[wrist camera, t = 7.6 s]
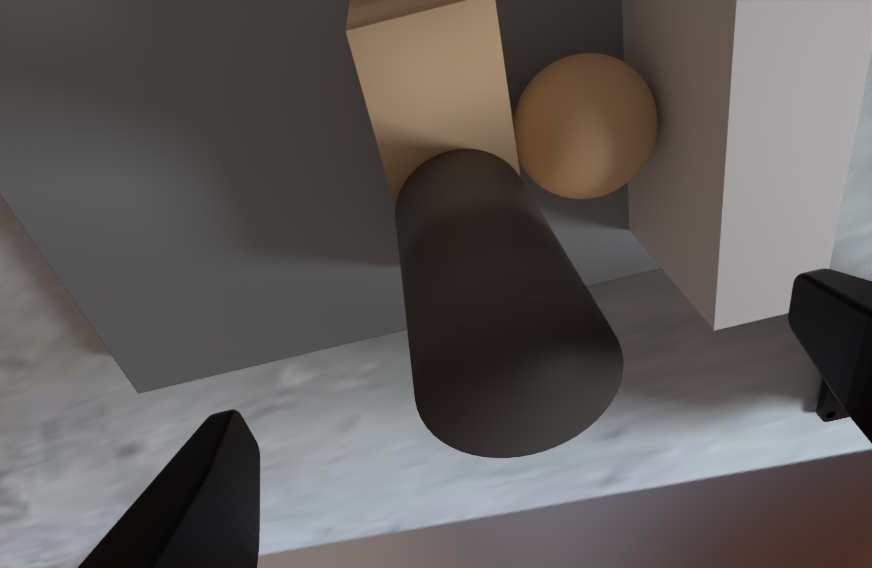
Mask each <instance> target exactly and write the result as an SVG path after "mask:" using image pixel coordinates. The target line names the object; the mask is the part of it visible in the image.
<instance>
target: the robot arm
mask: <svg viewBox="0 0 872 568" xmlns="http://www.w3.org/2000/svg"><path fill="white" fill-rule="evenodd" d="M788 320H789V324H790V327H791V329H792V331H793V333H794V334H795V336H796V337H797V339H798V340H799V342H800V343H801V345H802V346H803V348H804V349H805V351H806V353H807V354H808V356H809V357H810V359H811V360H812V362H813V363H814V365H815V366H816V368H817V369H818V371H819V372H820V374H821V375H822V377H823V383H822V387H821V392H820V397H819V401H818V406H817V411H816V414H817V415H818V416H819V417H820V418H821V419H822V420H823V421H825V422H829V421H834V420H838V419H842V418H847V417H851V418H852V420H853V421H854V422H855V423H856V425H857V426H858V427H859V428H860V430H861V431H862V432H863V433H864V434H865V436H866V437H867V438H868V439H869V440H870V442H871V443H872V281H868V280H865V279H862V278H858V277H855V276H851V275H848V274H845V273H841V272H838V271H834V270H831V269H827V268H822V269H817V270H813V271H808V272H804V273H801V274H799V275H797V276H796V278H795V279H794V282H793V287H792V294H791V300H790V306H789V313H788ZM259 534H260V451H259V447H258V444H257V442H256V440H255V438H254V436H253V434H252V433H251V431H250V429H249V428H248V426H247V424H246V422H245V421H244V419H243V417H242V415H241V414H240V413H239V412H238V411H237V410H228V411H224V412H220V413H215V414H213V415H211V416H209V417H208V418H207V419H206V420H205V421H204V422H203V424H202V425H201V426H200V427H199V428H198V429H197V431H196V432H195V433H194V434H193V435H192V436H191V437H190V439H189V440H188V441H187V442H186V443H185V444H184V446H183V447H182V448H181V449H180V450H179V451H178V452H177V454H176V455H175V456H174V457H173V458H172V459H171V461H170V462H169V463H168V464H167V465H166V466H165V467H164V469H163V470H162V471H161V472H160V473H159V474H158V476H157V477H156V478H155V479H154V480H153V481H152V482H151V484H150V485H149V486H148V487H147V488H146V489H145V491H144V492H143V493H142V494H141V495H140V496H139V497H138V499H137V500H136V501H135V502H134V503H133V504H132V505H131V507H130V508H129V509H128V510H127V511H126V512H125V514H124V515H123V516H122V517H121V518H120V519H119V520H118V522H117V523H116V524H115V525H114V526H113V527H112V529H111V530H110V531H109V532H108V533H107V534H106V535H105V537H104V538H103V539H102V540H101V541H100V542H99V544H98V545H97V546H96V547H95V548H94V549H93V550H92V552H91V553H90V554H89V555H88V556H87V557H86V559H85V560H84V561H83V562H82V563H81V564H80V565H79V567H78V568H257V562H258V552H259Z"/></svg>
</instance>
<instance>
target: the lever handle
mask: <svg viewBox="0 0 872 568" xmlns="http://www.w3.org/2000/svg"><path fill="white" fill-rule="evenodd" d="M346 34H347V38H348V41H349V45H350V49H351V52H352V56H353V59H354V63H355V66H356V70H357V73H358V77H359V81H360V84H361V88H362V91H363V95H364V98H365V102H366V105H367V109H368V113H369V116H370V120H371V123H372V127H373V130H374V134H375V137H376V141H377V145H378V148H379V152H380V155H381V159H382V162H383V166H384V169H385V173H386V177H387V180H388V184H389V187H390V191H391V194H392V198H393V201H394V205H395V222H396V231H397V240H398V249H399V259H400V268H401V277H402V286H403V295H404V304H405V313H406V322H407V331H408V340H409V349H410V358H411V367H412V376H413V385H414V394H415V402H416V406H417V410H418V412H419V415H420V417H421V419H422V421H423V422H424V424H425V425H426V427H427V428H428V429H429V430H430V431H431V433H432V434H433V435H434V436H436V437H437V438H438V439H439V440H441V441H442V442H443V443H445V444H447V445H449V446H450V447H452V448H454V449H457V450H459V451H461V452H465V453H468V454H471V455H476V456H481V457H490V458H511V457H521V456H526V455H531V454H535V453H539V452H543V451H546V450H548V449H551V448H554V447H556V446H558V445H561V444H563V443H565V442H567V441H569V440H570V439H572V438H574V437H575V436H577V435H579V434H580V433H581V432H583V431H584V430H586V429H587V428H588V427H589V426H591V425H592V424H593V423H594V422H595V421H596V420H597V419H598V418H599V417H600V416H601V415H602V414H603V413H604V412H605V410H606V409H607V407H608V406H609V405H610V403H611V402H612V400H613V398H614V396H615V395H616V393H617V390H618V388H619V385H620V382H621V378H622V373H623V356H622V350H621V347H620V344H619V341H618V339H617V338H616V336H615V334H614V332H613V330H612V329H611V327H610V325H609V324H608V322H607V320H606V319H605V317H604V315H603V314H602V312H601V310H600V309H599V307H598V305H597V304H596V302H595V300H594V299H593V297H592V296H591V294H590V292H589V291H588V289H587V287H586V286H585V284H584V282H583V281H582V279H581V277H580V276H579V274H578V272H577V271H576V269H575V267H574V266H573V264H572V262H571V261H570V259H569V257H568V256H567V254H566V252H565V251H564V249H563V247H562V246H561V244H560V242H559V241H558V239H557V237H556V236H555V234H554V232H553V231H552V229H551V227H550V226H549V224H548V222H547V221H546V219H545V217H544V216H543V214H542V212H541V211H540V209H539V207H538V206H537V204H536V202H535V201H534V199H533V197H532V196H531V194H530V192H529V191H528V189H527V187H526V186H525V184H524V182H523V181H522V179H521V177H520V170H519V163H518V156H517V149H516V142H515V135H514V128H513V121H512V114H511V107H510V100H509V93H508V86H507V79H506V72H505V65H504V58H503V51H502V44H501V37H500V30H499V23H498V16H497V9H496V2H495V0H350V1H349V9H348V17H347V24H346Z"/></svg>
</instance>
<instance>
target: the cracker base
mask: <svg viewBox="0 0 872 568" xmlns="http://www.w3.org/2000/svg"><path fill="white" fill-rule="evenodd" d="M349 1H350V0H0V195H1V196H2V198H3V199H4V201H5V202H6V204H7V205H8V206H9V208H10V209H11V211H12V212H13V214H14V215H15V216H16V218H17V219H18V221H19V222H20V224H21V225H22V227H23V228H24V229H25V231H26V232H27V234H28V235H29V237H30V238H31V240H32V241H33V242H34V244H35V245H36V247H37V248H38V250H39V251H40V253H41V254H42V255H43V257H44V258H45V260H46V261H47V263H48V264H49V266H50V267H51V268H52V270H53V271H54V273H55V274H56V276H57V277H58V279H59V280H60V281H61V283H62V284H63V286H64V287H65V289H66V290H67V291H68V293H69V294H70V296H71V297H72V299H73V300H74V302H75V303H76V304H77V306H78V307H79V309H80V310H81V312H82V313H83V315H84V316H85V317H86V319H87V320H88V322H89V323H90V325H91V326H92V328H93V329H94V330H95V332H96V333H97V335H98V336H99V338H100V339H101V341H102V342H103V343H104V345H105V346H106V348H107V349H108V351H109V352H110V353H111V355H112V356H113V358H114V359H115V361H116V362H117V364H118V365H119V366H120V368H121V369H122V371H123V372H124V374H125V375H126V377H127V378H128V379H129V381H130V382H131V384H132V385H133V387H134V388H135V390H136V391H137V392H138V394H139V393H143V392H147V391H151V390H155V389H160V388H164V387H168V386H172V385H176V384H181V383H185V382H189V381H193V380H197V379H201V378H206V377H210V376H214V375H218V374H222V373H226V372H231V371H235V370H239V369H243V368H247V367H251V366H256V365H260V364H264V363H268V362H272V361H277V360H281V359H285V358H289V357H293V356H297V355H302V354H306V353H310V352H314V351H318V350H322V349H327V348H331V347H335V346H339V345H343V344H347V343H352V342H356V341H360V340H364V339H368V338H373V337H377V336H381V335H385V334H389V333H393V332H398V331H402V330H406V329H407V322H406V313H405V304H404V295H403V286H402V277H401V268H400V259H399V249H398V240H397V231H396V222H395V205H394V201H393V198H392V194H391V191H390V187H389V184H388V180H387V177H386V173H385V169H384V166H383V162H382V159H381V155H380V152H379V148H378V145H377V141H376V137H375V134H374V130H373V127H372V123H371V120H370V116H369V113H368V109H367V105H366V102H365V98H364V95H363V91H362V88H361V84H360V81H359V77H358V73H357V70H356V66H355V63H354V59H353V56H352V52H351V49H350V45H349V41H348V38H347V34H346V24H347V17H348V9H349ZM495 2H496V9H497V16H498V23H499V30H500V37H501V44H502V51H503V58H504V65H505V72H506V79H507V86H508V93H509V100H510V107H511V114H512V121H513V128H514V135H515V142H516V149H517V156H518V163H519V170H520V177H521V179H522V181H523V182H524V184H525V186H526V187H527V189H528V191H529V192H530V194H531V196H532V197H533V199H534V201H535V202H536V204H537V206H538V207H539V209H540V211H541V212H542V214H543V216H544V217H545V219H546V221H547V222H548V224H549V226H550V227H551V229H552V231H553V232H554V234H555V236H556V237H557V239H558V241H559V242H560V244H561V246H562V247H563V249H564V251H565V252H566V254H567V256H568V257H569V259H570V261H571V262H572V264H573V266H574V267H575V269H576V271H577V272H578V274H579V276H580V277H581V279H582V281H583V282H584V284H585V286H590V285H594V284H598V283H602V282H606V281H610V280H615V279H619V278H623V277H627V276H631V275H635V274H640V273H644V272H648V271H652V270H656V269H661V268H662V270H663V271H664V272H665V273H666V274H667V276H668V277H669V278H670V279H671V280H672V281H673V283H674V284H675V285H676V286H677V287H678V289H679V290H680V291H681V292H682V293H683V295H684V296H685V297H686V298H687V299H688V300H689V302H690V303H691V304H692V305H693V306H694V308H695V309H696V310H697V311H698V312H699V313H700V315H701V316H702V317H703V318H704V319H705V321H706V322H707V323H708V324H709V325H710V327H711V328H712V329H713V330H714V331H715V330H719V329H723V328H727V327H732V326H736V325H740V324H744V323H749V322H753V321H757V320H761V319H766V318H770V317H774V316H778V315H782V314H787V313H789V306H790V300H791V294H792V287H793V282H794V279H795V278H796V276H797V275H799V274H801V273H804V272H808V271H813V270H817V269H822V268H827V269H829V267H830V262H831V257H832V252H833V247H834V242H835V237H836V232H837V227H838V221H839V216H840V211H841V206H842V201H843V196H844V191H845V186H846V180H847V175H848V170H849V165H850V160H851V155H852V150H853V145H854V140H855V134H856V129H857V124H858V119H859V114H860V109H861V104H862V99H863V93H864V88H865V83H866V78H867V73H868V68H869V63H870V58H871V53H872V0H495Z"/></svg>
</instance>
